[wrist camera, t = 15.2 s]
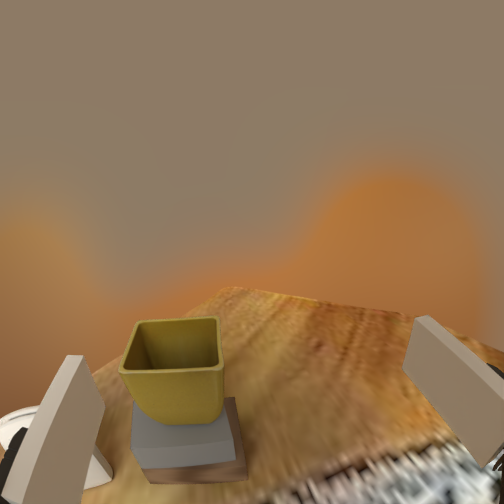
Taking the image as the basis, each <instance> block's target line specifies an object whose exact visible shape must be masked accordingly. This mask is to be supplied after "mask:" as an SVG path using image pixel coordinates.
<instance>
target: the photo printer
mask: <svg viewBox="0 0 504 504" xmlns="http://www.w3.org/2000/svg"><path fill="white" fill-rule="evenodd" d="M39 406H40V405H39ZM39 406H32V407H27V408H23V409H20V410H17V411H14V412H12V413H10V414H8V415H6V416H4V417H3V418H1V419H0V442H1V444H2V446H3V448H4V449H5V451H6V450H8V446H9V444H10V441H11V439H12V437H13V436H14V435H15V434H16V433H17V432H18V431H19V430H20V429H21V428H22V427H25V428H29V426H30V424H31V422H32V420H33V418H34V416H35V414H36V412H37V410H38V408H39ZM112 476H113V471H112V468H111V466H110V465H109V463H108V462H107V460H106V459H105V458H104V456H103V455H102V453H101V452H100V450H99V449H98V447H97V446H96V444H95V445H94V449H93V453H92V457H91V461H90V464H89V469H88V473H87V477H86V481H85V485H84V490H85V489H88V488H92V487H95V486H99V485H102V484H105V483H107V482H109V481H111V480H112Z"/></svg>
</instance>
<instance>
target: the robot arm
mask: <svg viewBox="0 0 504 504" xmlns="http://www.w3.org/2000/svg"><path fill="white" fill-rule="evenodd" d="M402 370H403V371H404V372H405V373H406V375H407V376H408V377H409V378H410V379H411V381H412V382H413V383H414V384H415V385H416V387H417V388H418V389H419V390H420V391H421V393H422V394H423V395H424V396H425V397H426V399H427V400H428V401H429V402H430V403H431V405H432V406H433V407H434V408H435V410H436V411H437V412H438V413H439V415H440V416H441V417H442V418H443V419H444V421H445V422H446V423H447V424H448V426H449V427H450V428H451V429H452V431H453V432H454V433H455V434H456V436H457V437H458V438H459V440H460V441H461V442H462V443H463V445H464V446H465V447H466V448H467V450H468V451H469V452H470V454H471V455H472V456H473V458H474V459H475V460H476V461H477V463H478V464H479V465H480V467H481V468H483V467H484V466H486V465H487V464H488V463H490V462H491V461H492V460H494V459H495V458H496V457H497V455H498V454H499V453H500V452H501V450H502V449H504V373H503V372H502V371H501V370H499V369H498V368H497V367H495V366H493V365H490V364H488V363H485V362H483V361H482V360H481V359H480V358H479V357H478V356H477V355H475V354H474V353H473V352H472V351H471V350H470V349H468V348H467V347H466V346H465V345H464V344H463V343H461V342H460V341H459V340H458V339H457V338H455V337H454V336H453V335H452V334H451V333H450V332H448V331H447V330H446V329H445V328H443V327H442V326H441V325H440V324H439V323H437V322H436V321H435V320H434V319H432V318H431V317H430V316H429V315H425V316H422V317H417V318H415V319H414V324H413V328H412V332H411V336H410V340H409V344H408V348H407V352H406V355H405V359H404V362H403V366H402ZM105 408H106V406H105V404H104V402H103V399H102V397H101V395H100V393H99V391H98V389H97V386H96V384H95V382H94V380H93V377H92V375H91V373H90V370H89V368H88V365H87V363H86V360H85V358H84V356H75V355H74V356H72V355H67V357H66V359H65V360H64V362H63V364H62V365H61V367H60V369H59V371H58V372H57V374H56V376H55V378H54V380H53V382H52V383H51V385H50V387H49V389H48V391H47V393H46V394H45V396H44V398H43V400H42V402H41V404H40V406H39V408H38V410H37V412H36V414H35V416H34V418H33V420H32V422H31V424H30V426H29V428H25V427H22V428H21V429H20V430H19V431H18V432H17V433H16V434H15V435H14V436H13V437H12V439H11V441H10V444H9V446H8V450H6V452H5V454H4V459H2V461H1V464H0V504H81V499H82V494H83V490H84V485H85V481H86V477H87V473H88V469H89V464H90V461H91V457H92V453H93V449H94V445H95V442H96V438H97V435H98V431H99V428H100V424H101V421H102V418H103V414H104V411H105ZM501 463H502V465H501V466H500V467H499V469H498V471H502V478H501V491H500V501H499V504H504V454H503V455H502V456H501V457H500V459H499V460H498V461H497V462H496V464H495V465H494V467H493V470H492V471H495V470H496V469H497V468H498V466H499V465H500V464H501Z"/></svg>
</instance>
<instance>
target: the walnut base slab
mask: <svg viewBox="0 0 504 504" xmlns="http://www.w3.org/2000/svg"><path fill="white" fill-rule="evenodd" d="M224 406H225V410H226V414H227V418H228V422H229V425H230V429H231V433H232V436H233V441H234V449H235V456H236V460H233V461H227V462H220V463H213V464H205V465H196V466H185V467H172V468H152V469H142V468H141V469H142V471H143V473H144V474H145V476H146V478H147V479H148V481H149V482H150V484H206V483H222V482H234V481H243V480H248V476H247V465H246V460H245V455H244V449H243V444H242V438H241V432H240V427H239V421H238V415H237V409H236V403H235V397H228V398H224Z"/></svg>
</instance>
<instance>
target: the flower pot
mask: <svg viewBox="0 0 504 504" xmlns="http://www.w3.org/2000/svg"><path fill="white" fill-rule="evenodd" d="M119 374H120V376H121V377H122V379H123V381H124V383H125V385H126V387H127V389H128V390H129V392H130V394H131V396H132V397H133V399H134V401H135V402H136V404H137V405H138V407H139V408H140V409H141V410H142V411H143V412H144V413H145V414H146V415H147V416H148V417H150V418H152V419H153V420H155V421H157V422H159V423H162V424H165V425H191V424H210V423H212V422H213V421H215V420H216V419H217V418H218V417H219V415H220V414H221V412H222V409H223V405H224V359H223V352H222V345H221V330H220V318H219V316H203V317H190V318H175V319H157V320H156V319H155V320H139V321H137V323H136V324H135V326H134V329H133V331H132V334H131V337H130V339H129V341H128V344H127V347H126V350H125V352H124V355H123V357H122V360H121V362H120V366H119Z"/></svg>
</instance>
